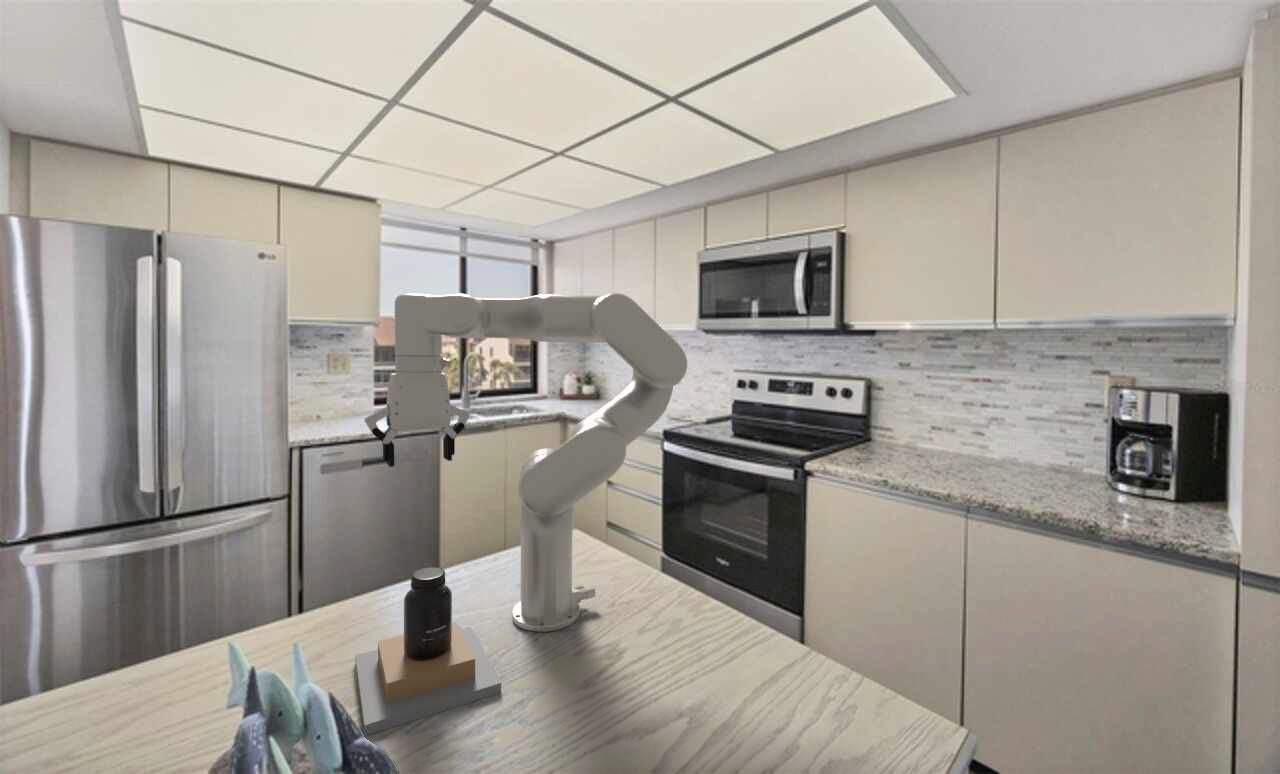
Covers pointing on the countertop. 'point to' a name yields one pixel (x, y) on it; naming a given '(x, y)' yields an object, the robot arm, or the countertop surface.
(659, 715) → the countertop surface
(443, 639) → the supplement bottle
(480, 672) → the pedestal
